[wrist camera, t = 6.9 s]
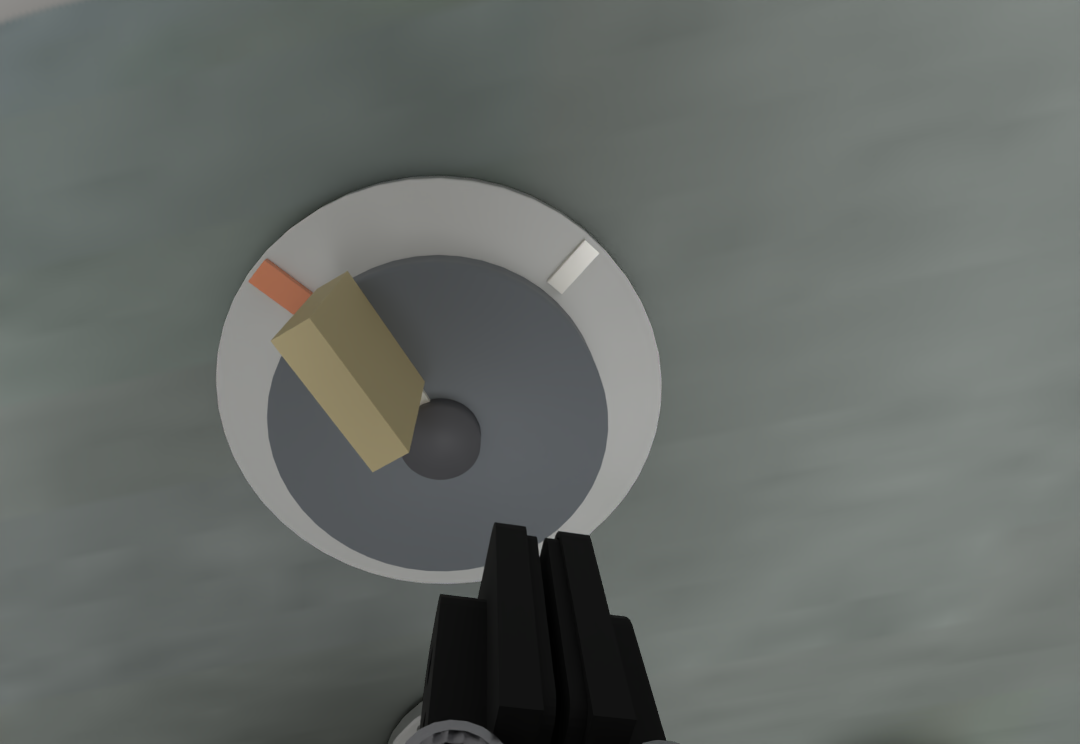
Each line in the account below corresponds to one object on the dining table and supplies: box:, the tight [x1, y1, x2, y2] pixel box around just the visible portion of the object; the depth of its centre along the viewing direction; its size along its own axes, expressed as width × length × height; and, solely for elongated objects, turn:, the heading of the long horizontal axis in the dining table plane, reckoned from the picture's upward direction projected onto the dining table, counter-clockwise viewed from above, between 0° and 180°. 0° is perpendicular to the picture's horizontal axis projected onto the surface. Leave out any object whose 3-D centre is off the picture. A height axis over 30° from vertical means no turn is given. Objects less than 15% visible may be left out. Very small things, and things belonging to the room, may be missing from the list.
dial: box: [267, 255, 608, 571], centre depth 23 cm, size 12×12×7 cm
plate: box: [216, 175, 662, 584], centre depth 27 cm, size 17×17×2 cm
